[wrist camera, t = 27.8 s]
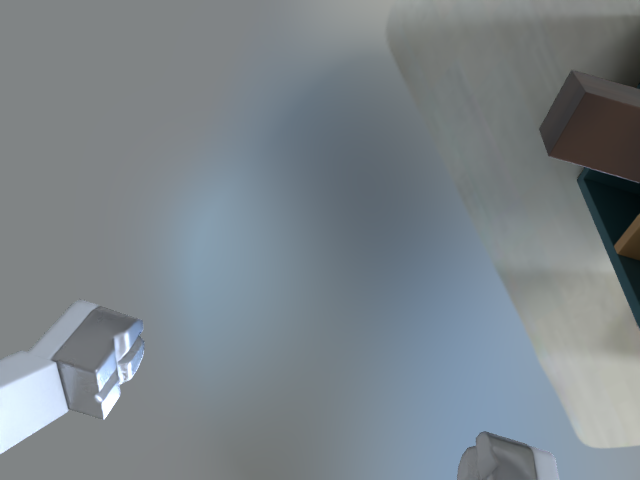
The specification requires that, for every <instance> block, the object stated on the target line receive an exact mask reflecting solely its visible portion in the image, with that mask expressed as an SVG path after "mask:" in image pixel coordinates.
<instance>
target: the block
mask: <svg viewBox="0 0 640 480" xmlns="http://www.w3.org/2000/svg"><path fill="white" fill-rule="evenodd" d="M539 130H540V133H541V136H542V139H543V142H544V145H545V147H546V150H547V153H548V156H549V157H553V158H556V159H560V160H563V161H567V162H570V163H573V164H577V165H580V166H584V167H587V168H590V169H594V170H597V171H601V172H604V173H607V174H611V175H614V176H618V177H621V178H624V179H628V180H631V181H635V182H638V183H640V89H637V88H634V87H630V86H627V85H623V84H620V83H616V82H612V81H609V80H605V79H602V78H598V77H595V76H591V75H588V74H584V73H581V72H577V71H574V70H571V72H570V74H569V75H568V77H567V79H566V81H565V83H564V85H563V86H562V88H561V90H560V92H559V94H558V96H557V97H556V99H555V101H554V103H553V105H552V106H551V108H550V110H549V112H548V114H547V116H546V117H545V119H544V121H543V123H542V125H541V127H540V128H539Z"/></svg>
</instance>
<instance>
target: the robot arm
mask: <svg viewBox="0 0 640 480" xmlns="http://www.w3.org/2000/svg"><path fill="white" fill-rule="evenodd" d="M142 331H143V321H142V320H140V319H137V318H134V317H131V316H128V315H125V314H122V313H120V312H117V311H114V310H111V309H108V308H105V307H102V306H100V305H97V304H94V303H91V302H87V301H84V300H81V299H80V300H78V301H76V302H74V303H73V304H71V305H70V307H69V308H68V309H67V310H66V311H65V312H64V313H63V314H62V315H61V316H60V317H59V319H58V320H57V321H56V322H55V323H54V324H53V325H52V326H51V327H50V328H49V329H48V330H47V331H46V333H44V335H43V336H42V337H41V338H40V339H39V340H38V341H37V342H36V343H35V344H34V345H33V346H32V347H31V349H30V350H29V351H28V352H25V351H18V352H16V353H14V354H11V355H9V356H7V357H4V358H2V359H0V454H1V453H3V452H4V451H6V450H7V449H9V448H11V447H12V446H14V445H15V444H17V443H19V442H20V441H22V440H23V439H25V438H27V437H28V436H30V435H31V434H33V433H34V432H36V431H38V430H39V429H41V428H43V427H44V426H46V425H47V424H49V423H51V422H52V421H54V420H55V419H57V418H59V417H60V416H62V415H63V414H65V413H67V412H68V409H70V410H74V411H77V412H80V413H83V414H87V415H90V416H93V417H96V418H100V419H103V420H104V419H105V417H106V416H107V414H108V413H109V411H110V410H111V408H112V407H113V405H114V404H115V402H116V401H117V399H118V397H119V396H120V386H119V385H120V384H121V383H124V382H126V381H128V380H130V379H131V378H132V376H133V375H134V373H135V372H136V370H137V369H138V366H139V364H140V361H141V359H142V357H143V353H144V341H143V339H142V338H141V337H140V336H139V335H140V334H141V332H142ZM457 480H559V475H558V470H557V464H556V459H555V457H554V456H553V455H552V453H550V452H548V451H545V450H542V449H538V448H535V447H532V446H528V445H527V444H525V443H521V442H518V441H515V440H511V439H508V438H505V437H502V436H498V435H495V434H492V433H489V432H481V433H480V434H479V435H478V436H477V437H476V446H473V447H469V448H467V449H466V451H465V452H464V454H463V455H462V457H461V460H460V464H459V467H458V474H457Z"/></svg>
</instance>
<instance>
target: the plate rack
mask: <svg viewBox="0 0 640 480" xmlns="http://www.w3.org/2000/svg"><path fill="white" fill-rule="evenodd" d="M637 89H640V83H639V85H638V86H637ZM577 183H578V185H579V187H580V189H581V192H582V194H583V197H584V199H585V201H586V204H587V206H588V208H589V211H590V213H591V216H592V218H593V220H594V223H595V225H596V227H597V230H598V232H599V235H600V237H601V239H602V242H603V244H604V246H605V249H606V251H607V254H608V256H609V258H610V261H611V263H612V265H613V268H614V270H615V273H616V275H617V277H618V280H619V282H620V284H621V287H622V289H623V292H624V294H625V296H626V299H627V301H628V303H629V306H630V308H631V311H632V313H633V315H634V318H635V320H636V322H637V325H638V327H639V329H640V183H638V182H635V181H631V180H628V179H624V178H621V177H618V176H614V175H611V174H607V173H604V172H601V171H597V170H594V169H590V168H587V167H585V168H584V170H583V171H582V173H581V174H580V176H579V178H578V179H577Z"/></svg>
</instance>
